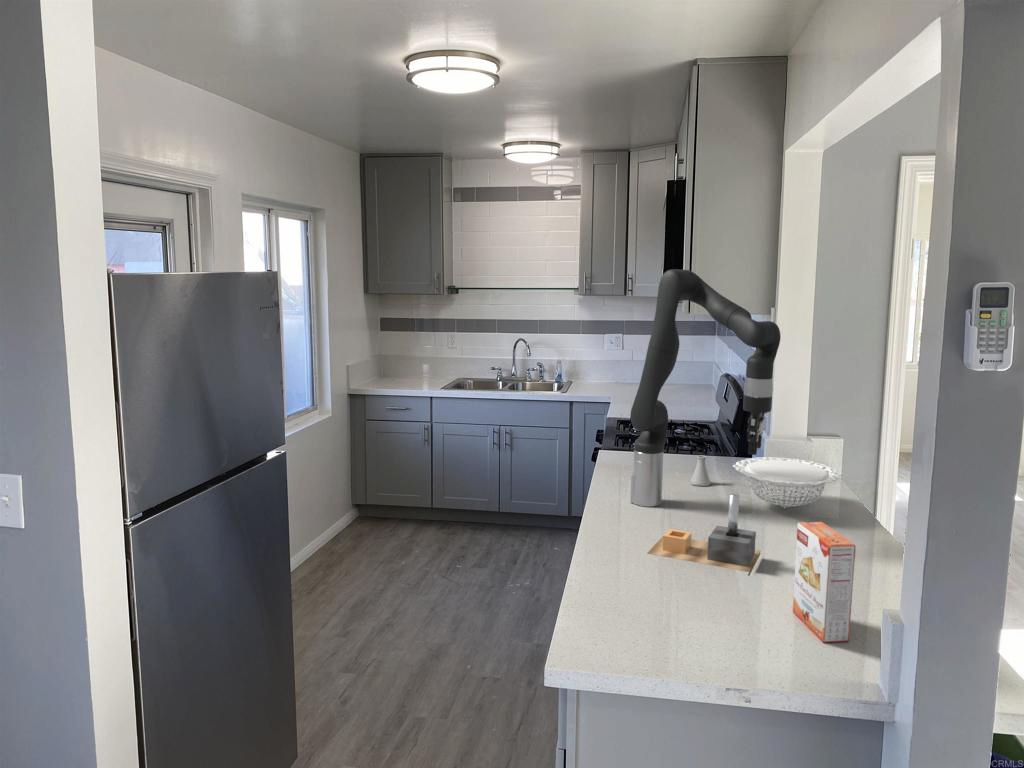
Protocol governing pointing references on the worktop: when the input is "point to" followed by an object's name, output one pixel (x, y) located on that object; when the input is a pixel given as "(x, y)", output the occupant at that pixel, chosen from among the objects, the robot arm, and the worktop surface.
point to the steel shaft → (733, 515)
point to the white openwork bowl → (787, 479)
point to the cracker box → (824, 581)
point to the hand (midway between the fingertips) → (754, 451)
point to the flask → (700, 473)
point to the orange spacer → (677, 541)
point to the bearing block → (718, 550)
